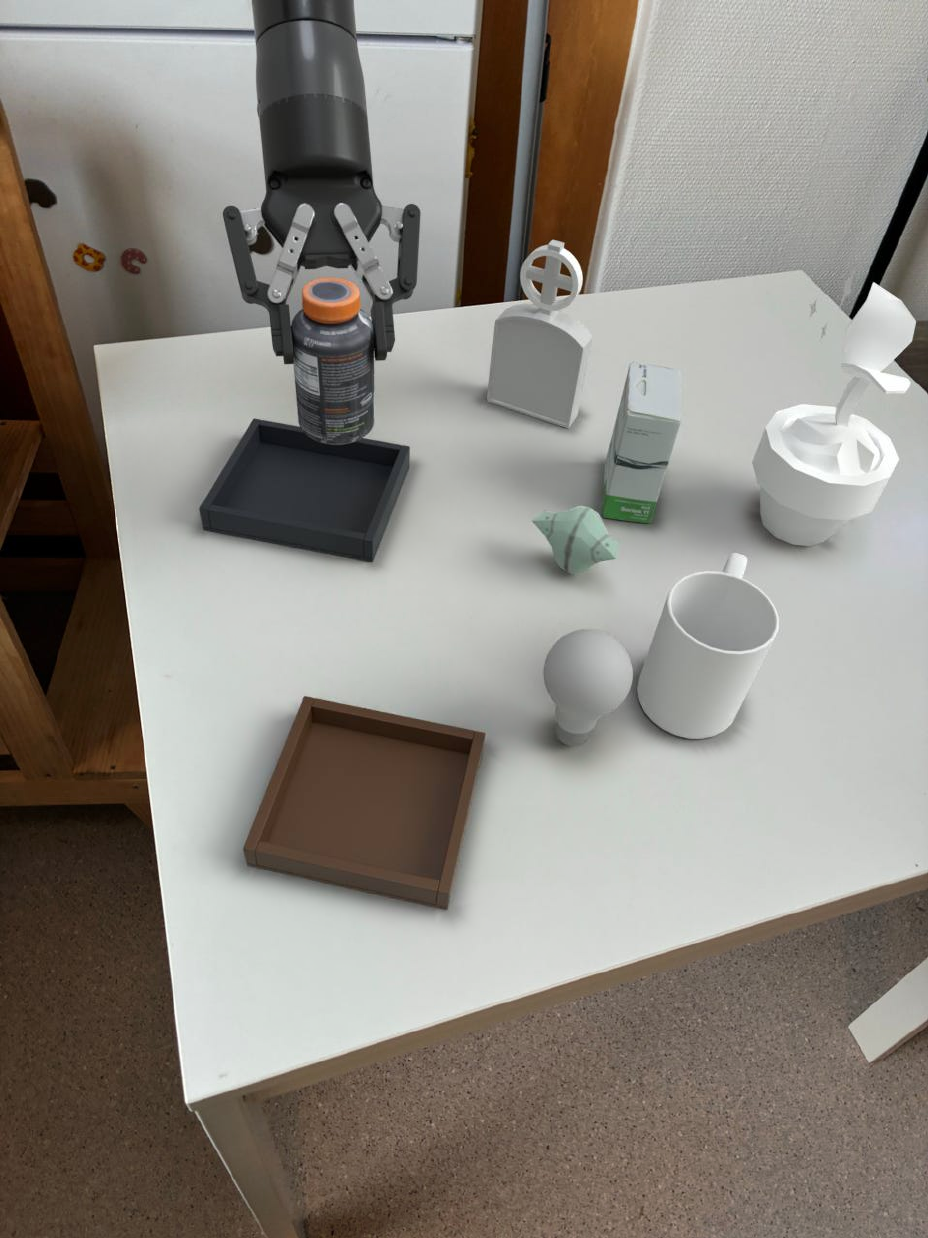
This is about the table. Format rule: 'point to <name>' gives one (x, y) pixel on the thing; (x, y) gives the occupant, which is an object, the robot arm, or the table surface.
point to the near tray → (368, 802)
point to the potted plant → (835, 435)
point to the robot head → (577, 538)
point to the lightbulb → (585, 681)
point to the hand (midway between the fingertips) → (335, 359)
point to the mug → (706, 651)
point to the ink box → (641, 442)
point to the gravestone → (541, 344)
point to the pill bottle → (333, 362)
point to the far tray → (307, 491)
